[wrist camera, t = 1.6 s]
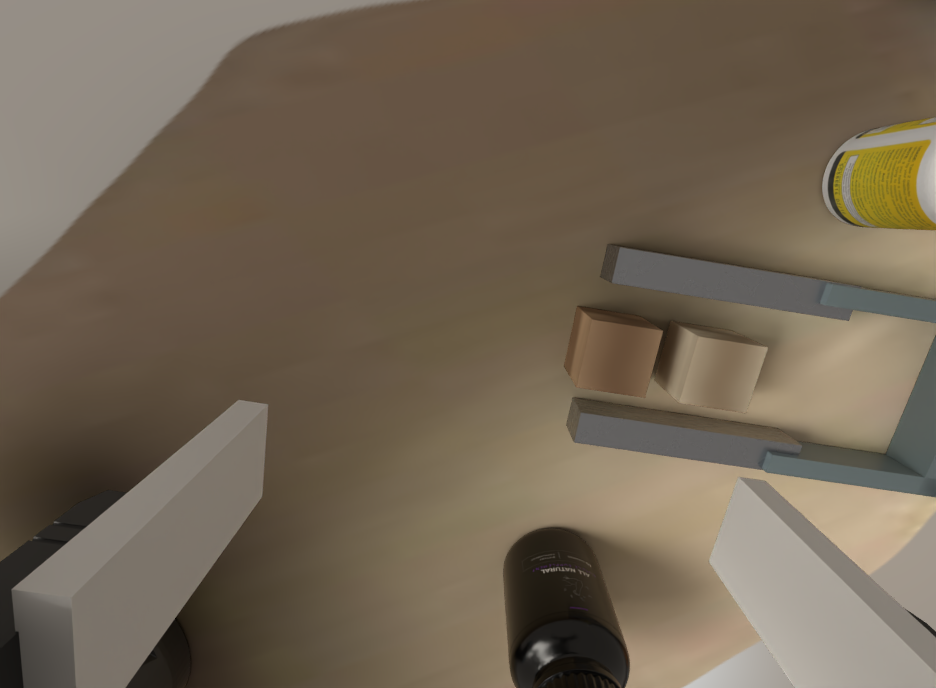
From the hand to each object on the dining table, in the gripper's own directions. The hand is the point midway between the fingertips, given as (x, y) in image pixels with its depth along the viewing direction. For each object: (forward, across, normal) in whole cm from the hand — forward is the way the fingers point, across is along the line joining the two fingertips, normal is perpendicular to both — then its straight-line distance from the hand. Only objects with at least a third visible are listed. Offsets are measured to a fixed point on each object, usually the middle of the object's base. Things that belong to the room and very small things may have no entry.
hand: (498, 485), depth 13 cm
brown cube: (+19, +8, 0) cm, 20 cm away
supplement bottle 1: (+19, +8, -17) cm, 26 cm away
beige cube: (+19, +14, 0) cm, 23 cm away
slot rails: (+19, +14, 0) cm, 23 cm away
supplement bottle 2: (+19, +21, +12) cm, 30 cm away
